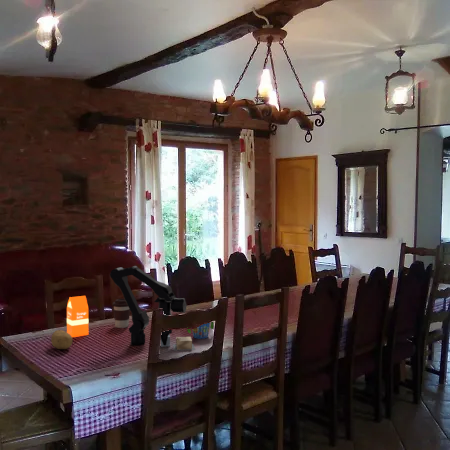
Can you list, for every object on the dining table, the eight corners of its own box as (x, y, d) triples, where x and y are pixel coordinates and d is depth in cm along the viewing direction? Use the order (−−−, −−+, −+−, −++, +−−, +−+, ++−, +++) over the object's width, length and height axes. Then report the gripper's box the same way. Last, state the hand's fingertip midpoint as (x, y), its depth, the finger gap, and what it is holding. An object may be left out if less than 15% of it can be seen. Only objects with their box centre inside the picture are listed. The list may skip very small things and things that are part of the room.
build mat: (174, 351, 236) (174, 350, 236) (172, 345, 246) (172, 344, 246) (195, 350, 237) (195, 349, 237) (193, 344, 247) (193, 343, 247)
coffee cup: (111, 325, 283) (110, 298, 283) (128, 323, 288) (128, 297, 287) (114, 329, 274) (114, 302, 274) (132, 327, 279) (132, 300, 278)
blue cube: (159, 347, 242) (159, 337, 242) (159, 344, 247) (159, 334, 247) (170, 346, 243) (170, 336, 243) (169, 344, 248) (169, 334, 248)
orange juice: (66, 334, 264) (66, 296, 263) (83, 331, 269) (82, 294, 268) (72, 337, 258) (72, 298, 257) (88, 334, 263) (88, 296, 262)
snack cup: (208, 333, 269) (208, 314, 268) (219, 337, 260) (219, 318, 259) (182, 337, 260) (182, 317, 259) (192, 342, 251) (192, 321, 251)
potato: (55, 354, 230) (55, 336, 229) (47, 346, 241) (47, 330, 241) (77, 350, 235) (77, 333, 235) (68, 343, 247) (67, 327, 247)
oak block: (177, 349, 237) (177, 341, 237) (176, 345, 244) (176, 337, 244) (191, 348, 239) (191, 340, 238) (190, 344, 245) (190, 336, 245)
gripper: (182, 315, 236) (182, 348, 237) (179, 307, 255) (179, 337, 255) (158, 316, 235) (158, 349, 235) (157, 307, 253) (157, 338, 254)
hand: (164, 343), depth 245 cm, fingers open, 6 cm apart
